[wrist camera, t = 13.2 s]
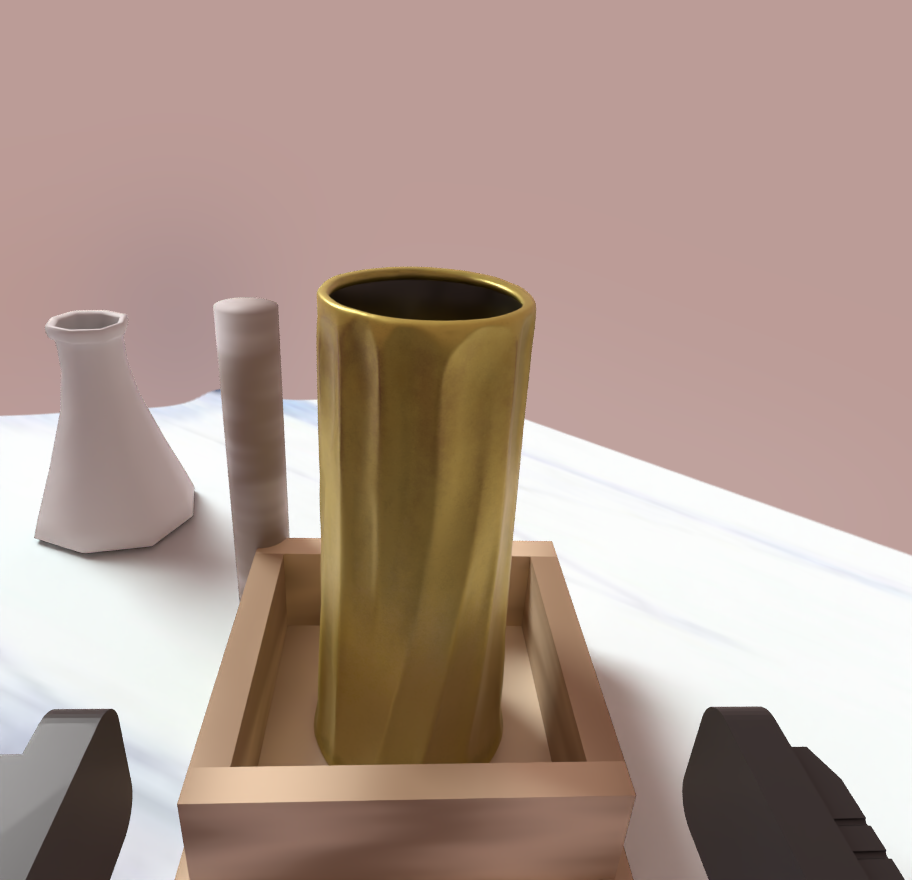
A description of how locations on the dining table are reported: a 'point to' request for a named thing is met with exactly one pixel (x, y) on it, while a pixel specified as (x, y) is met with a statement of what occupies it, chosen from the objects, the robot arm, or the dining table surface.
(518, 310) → the vase
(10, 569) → the dining table surface
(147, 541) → the flask
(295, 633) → the stand
